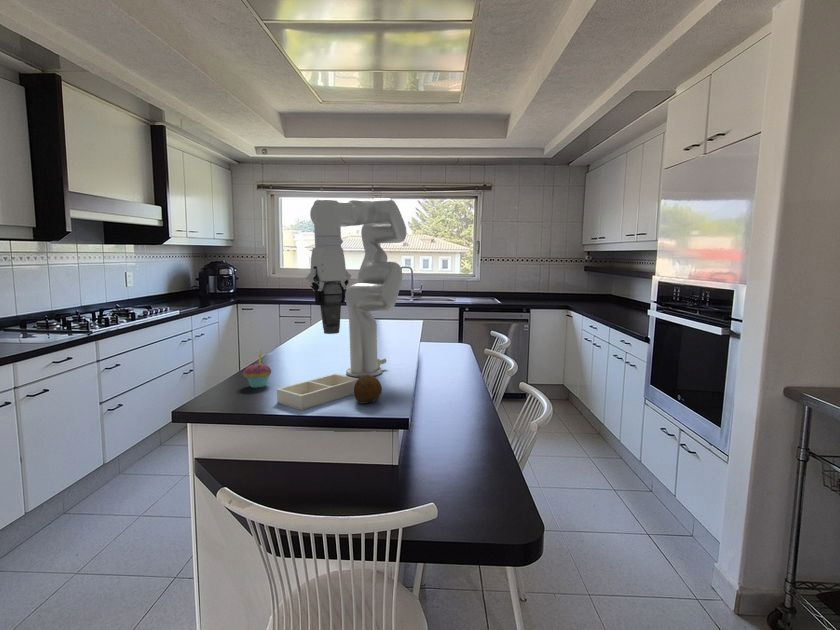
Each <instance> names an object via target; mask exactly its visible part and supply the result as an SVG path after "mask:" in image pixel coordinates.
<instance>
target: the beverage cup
mask: <svg viewBox="0 0 840 630" xmlns="http://www.w3.org/2000/svg"><path fill="white" fill-rule="evenodd" d="M322 291H323V292H324V305H319V306H320V314H321V321H322V328H323V333H324V334H326V335H327V334H328V335H334V334H336V335H337V334H339V333H340V329H341V308H342V307H341V306H342V303H341V301H342V289H341V287H340V285H339V284H338V283H337V282H325V283H324V286H323V288H322Z"/></svg>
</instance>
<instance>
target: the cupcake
mask: <svg viewBox="0 0 840 630" xmlns="http://www.w3.org/2000/svg"><path fill="white" fill-rule="evenodd" d="M261 362H262V349H260V351H259V352H258V363H254V364H250V365H248V366H247V367H245V368H244V370H243V372H242V375H243V378H247V381H248V383H249V386H250V388H253V389H255V388H256V389H257V388H258V387H259V388H264V387H266V386H267V383H268V380H269V377H270V376H271V374H272V370H271V367H269V366H268V365H267V364H264V363H261Z"/></svg>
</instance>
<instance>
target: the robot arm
mask: <svg viewBox="0 0 840 630" xmlns="http://www.w3.org/2000/svg"><path fill="white" fill-rule="evenodd" d="M309 216H310V219H311V222H312V224H313V225H314V226H313V228H314V230H313V232H314V247H312V250H311V257H310V272H309V273H308V274H307V276H306V277H305V280H306V282H307V283H308V284H309V287H310V288H312V291H313V292H314V301H315V305H317V306H320V305H324V292H323V291H322V288H323V286H324V283H325V282H337V283H338V284H339V285H340V287H341V289H342V301H341V304H342V303H343V304H345V302H346V309H347V313H348V324H349V325H348V327H349V328H348V329H349V351H350V352H349V355H350V356H349V357H350V361H349V363H350V367H349V368H347V369H346V376H348V377H352V378H360V377H362V376H366V375H369V376H374V377H376V376H379V375H381V374H382V373H383V368H382V367H380V366H381V365H384V364H387V359H386V357H384V358H378V331H377V330H378V329H377V328H378V324H377V321H376V319H375V317H374V315H373V314H372V312H390V311H391V310H393V309H394V308H395V306H396V304H397V300H398V296H399V292H400V289H401V285H402V282H403V270H402V267H401V266H400V264H398V263H397V262H396V261H388V255H387V253H386V251H385V250H384V249H383V248H382V247H381V245H379V244H397V243H398V244H399V243H403V242H404V241H405V240H406V237H407V227H406V223H405V221H404V218H403V216H402V213H401V211H400V208H399V207H398V205H397V204H396V202H395V201H394V200H393V199H391V198H389V197H387V198H369V199H367V198H366V199H359V198H357V199H356V198H355V199H347V200H340V201H338V200H337V199H331V198H320V199H316V200H314V202H313V205H312V206H311V208H310V212H309ZM350 226H351V227H352V226H353V227H354V226H361V230H360V231H361V233H360V234H361V241H362V245H363V249H364V256H363V260H362V262H361V265H360V267H359V271H358V273H357V282H358V283H354V284H351V285H349V286H348V284H349V281H350V280H351V278H352V275H351V273H349V272H348V271H347V270H346V258H345V253H344V249H343V247H342V244H343V243H344V240H343V239H342V234H341V233H342V228H343V227H344V228H345V227H350ZM347 286H348V287H347Z"/></svg>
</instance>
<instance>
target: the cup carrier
mask: <svg viewBox="0 0 840 630" xmlns="http://www.w3.org/2000/svg"><path fill="white" fill-rule="evenodd" d="M358 379H359V378H358V377H353V376H349V375H342V374H337V373H332V374H329V375H326V376H322V377H318V378H315V379H314V378H313V379H310V380H306V381H303V382H302V381H301V382H298V383H295V384H290V385H287V386H283V387H280V388H276V403H277V404H280V405H283V406H286V407H289V406H290V407H289V408H292V407H293V408H292V409H296V410H299V411H305V410H308V409H310V408H314V407H317V406H321V405H323V404H326V402H327V403H330V402H333V401H336V400H339V399H342V398H345V397H344V396H346V397H348V395H349V396H351V394H352V395H354V387H355V384H356V382H357V380H358Z"/></svg>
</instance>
